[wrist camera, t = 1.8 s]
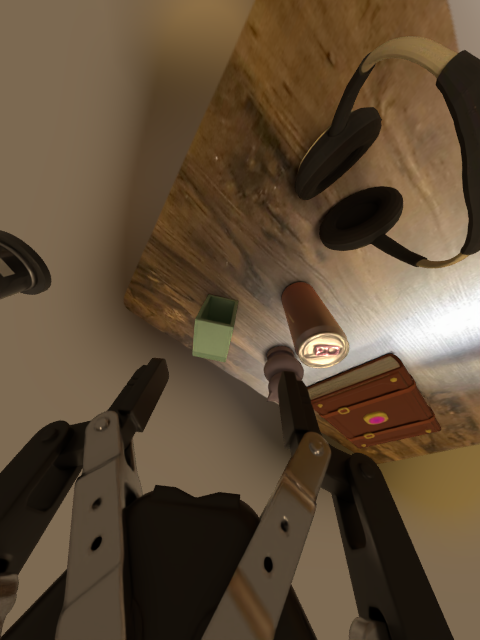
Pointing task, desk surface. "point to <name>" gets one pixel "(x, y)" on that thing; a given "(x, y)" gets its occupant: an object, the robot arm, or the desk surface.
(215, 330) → the green open-top box
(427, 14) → the desk surface
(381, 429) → the book
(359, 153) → the headphones
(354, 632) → the robot arm
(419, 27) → the desk surface
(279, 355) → the cat figurine
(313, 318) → the beverage can
